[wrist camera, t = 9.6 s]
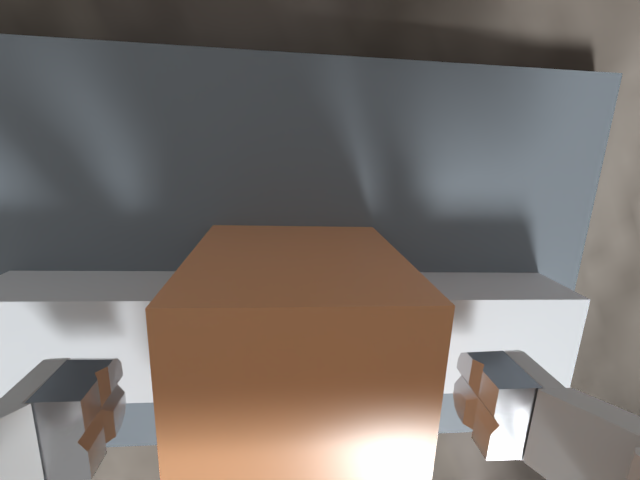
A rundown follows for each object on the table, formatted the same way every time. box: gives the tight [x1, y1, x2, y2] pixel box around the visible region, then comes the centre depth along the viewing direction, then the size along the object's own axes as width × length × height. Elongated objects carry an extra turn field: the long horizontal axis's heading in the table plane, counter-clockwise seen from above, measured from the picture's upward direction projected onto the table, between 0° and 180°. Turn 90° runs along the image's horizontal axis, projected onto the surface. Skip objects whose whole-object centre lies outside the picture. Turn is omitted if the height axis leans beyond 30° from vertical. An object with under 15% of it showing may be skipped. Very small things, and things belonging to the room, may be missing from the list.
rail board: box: [0, 34, 622, 447], centre depth 12 cm, size 20×13×3 cm, turn 88°
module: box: [145, 225, 455, 480], centre depth 10 cm, size 5×6×6 cm
